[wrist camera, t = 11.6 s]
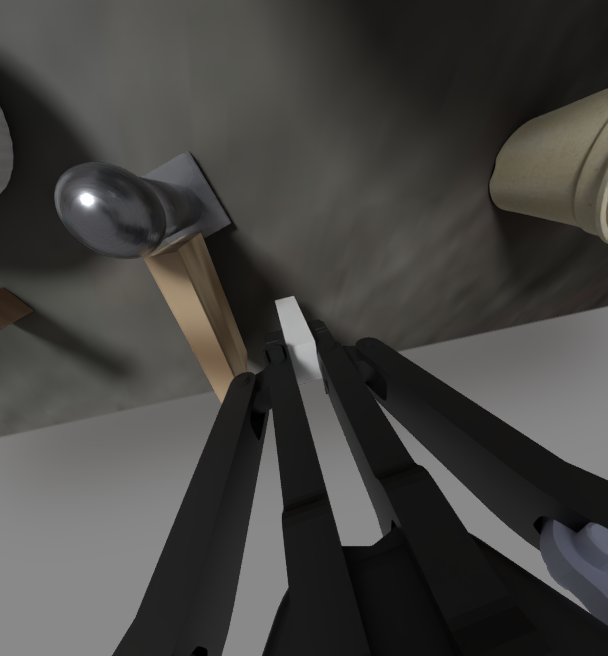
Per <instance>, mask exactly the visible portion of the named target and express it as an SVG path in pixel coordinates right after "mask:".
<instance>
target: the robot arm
mask: <svg viewBox="0 0 608 656" xmlns="http://www.w3.org/2000/svg"><path fill="white" fill-rule="evenodd" d="M275 303H276V307H277V311H278V315H279V319H280V323H281V326H282V330H280V331H276V332H273V333H269V334H268V335H267V337H266V346H267V347H266V348H265V349H264V350H263V355H264V358H265V361H266V363H267V367H266V368H265V369H264V370H263V371H261V372H260V373H258V374H256V375H254V373H251V372H244V373H241V374H239V375H237V376H236V377H235V378H233V380H232V381H231V383H230V385H229V388H228V390H227V393H226V395H225V398H224V400H223V403H222V405H221V408H220V410H219V413H218V415H217V417H216V420H215V422H214V425H213V428H212V430H211V432H210V435H209V437H208V440H207V442H206V445H205V447H204V450H203V452H202V455H201V457H200V459H199V462H198V464H197V467H196V469H195V472H194V474H193V477H192V479H191V482H190V484H189V487H188V489H187V492H186V494H185V497H184V499H183V501H182V504H181V506H180V509H179V511H178V514H177V516H176V519H175V521H174V524H173V526H172V529H171V531H170V533H169V536H168V539H167V541H166V543H165V546H164V548H163V551H162V553H161V556H160V558H159V561H158V563H157V566H156V568H155V571H154V573H153V575H152V578H151V581H150V583H149V585H148V588H147V590H146V593H145V595H144V598H143V600H142V603H141V605H140V608H139V610H138V612H137V615H136V617H135V619H134V621H133V622H132V624H131V626H130V627H129V629H128V630H127V632H126V634H125V636H124V637H123V639H122V640H121V642H120V644H119V645H118V647H117V649H116V650H115V652H114V653H113V655H112V656H221V655H222V652H223V648H224V645H225V641H226V637H227V634H228V630H229V625H230V621H231V616H232V612H233V607H234V601H235V596H236V591H237V585H238V580H239V574H240V569H241V563H242V558H243V553H244V547H245V542H246V536H247V531H248V525H249V519H250V515H251V508H252V503H253V498H254V493H255V487H256V482H257V476H258V471H259V465H260V460H261V454H262V449H263V444H264V438H265V433H266V426H267V422H268V416H269V410H270V409H271V408H272V411H273V420H274V428H275V437H276V445H277V454H278V462H279V471H280V480H281V488H282V497H283V505H284V510H283V513H282V529H283V539H284V547H285V557H286V566H287V576H288V585H289V588H288V589H287V591H286V593H285V595H284V596H283V599H282V601H281V603H280V605H279V607H278V610H277V613H276V616H275V619H274V621H273V625H272V627H271V631H270V633H269V636H268V639H267V642H266V645H265V648H264V651H263V654H262V656H608V480H606V479H604V478H601V477H599V476H596V475H594V474H592V473H590V472H588V471H585V470H583V469H581V468H579V467H576V466H574V465H572V464H569V463H567V462H565V461H564V460H562V459H560V458H559V457H557V456H556V455H554V454H553V453H551V452H550V451H548V450H547V449H545V448H544V447H542V446H541V445H539V444H538V443H536V442H534V441H533V440H531V439H530V438H528V437H527V436H525V435H524V434H522V433H521V432H519V431H518V430H516V429H514V428H513V427H511V426H510V425H508V424H507V423H505V422H504V421H502V420H501V419H499V418H498V417H496V416H495V415H493V414H491V413H490V412H488V411H487V410H485V409H483V408H482V407H481V406H479V405H478V404H476V403H474V402H473V401H471V400H470V399H468V398H467V397H465V396H464V395H462V394H461V393H459V392H458V391H456V390H454V389H453V388H451V387H450V386H448V385H447V384H445V383H444V382H442V381H441V380H439V379H437V378H436V377H434V376H433V375H431V374H430V373H428V372H427V371H425V370H424V369H422V368H421V367H419V366H418V365H416V364H414V363H413V362H411V361H410V360H408V359H407V358H405V357H404V356H402V355H401V354H399V353H398V352H396V351H395V350H393V349H392V348H390V347H388V346H387V345H385V344H384V343H382V342H381V341H379V340H377V339H375V338H370V337H368V338H362V339H360V340H358V341H357V343H356V346H341V344H340V343H339V342H337V341H335V340H334V339H333V337H332V335H331V334H330V332H329V330H328V329H327V327H326V325H325V324H324V322H322V321H320V320H315V321H311V322H307V323H306V321H305V319H304V317H303V315H302V312H301V310H300V308H299V306H298V304H297V302H296V300H295V297H294V296H291V297H287V298H283V299H279V300H275ZM321 374H322V375H321ZM322 377H323V381H324V386H325V391H326V394H328V395H329V397H330V400H331V403H332V405H333V408H334V410H335V413H336V415H337V418H338V420H339V422H340V425H341V427H342V430H343V432H344V435H345V437H346V440H347V442H348V445H349V447H350V450H351V452H352V455H353V457H354V460H355V462H356V465H357V467H358V470H359V472H360V474H361V477H362V480H363V482H364V485H365V487H366V489H367V492H368V494H369V497H370V499H371V502H372V504H373V507H374V509H375V512H376V514H377V518H378V521H379V525H380V528H381V531H382V534H383V538H381V539H380V540H379V541H378V542H377V543H375V544H374V545H372V546H342V545H341V542H340V538H339V534H338V531H337V527H336V523H335V520H334V516H333V512H332V508H331V505H330V501H329V497H328V494H327V490H326V487H325V483H324V480H323V475H322V471H321V468H320V464H319V461H318V457H317V453H316V449H315V446H314V442H313V438H312V435H311V431H310V428H309V424H308V420H307V416H306V413H305V409H304V405H303V401H302V398H301V394H300V390H299V387H298V385H301V384H305V383H308V382H311V381H315V380H318V379H321V378H322ZM375 399H376V400H377V401H378V402H379V403H380V404H381V405H382V406H383V407H384V408H385V409H386V410H387V411H388V412H389V413H390V414H391V415H392V416H393V417H394V418H395V419H396V420H397V421H399V422H400V423H401V424H402V425H403V426H404V427H405V428H406V429H407V430H408V431H409V432H410V433H411V434H412V435H413V436H414V437H415V438H416V439H417V440H418V441H419V442H420V443H421V444H422V445H423V446H424V447H425V448H426V449H427V450H429V451H430V452H431V453H432V454H433V455H434V456H435V457H436V458H437V459H438V460H439V461H440V462H441V463H442V464H443V465H444V466H445V467H446V468H447V469H448V470H449V471H450V472H451V473H452V474H453V475H454V476H455V477H456V478H457V479H458V480H459V481H460V482H462V483H463V484H464V485H465V486H466V487H467V488H468V489H469V490H470V491H471V492H472V493H473V494H474V495H475V496H476V497H477V498H478V499H479V500H480V501H481V502H482V503H483V504H484V505H485V506H486V507H488V509H489V510H491V511H492V512H493V513H494V514H495V515H496V516H497V517H498V518H499V519H500V520H501V521H503V522H504V523H505V524H506V525H507V526H508V527H509V528H511V529H512V530H513V531H515V532H516V533H517V534H518V535H519V536H521V537H522V538H523V539H524V540H526V541H527V542H528V543H530V544H531V545H532V546H534V547H535V548H537V549H538V550H540V552H541V555H542V557H543V560H544V562H545V563H546V565H547V569H548V571H549V573H550V575H551V577H552V578H553V579H554V580H555V581H556V582H557V583H558V584H559V585H561V586H562V587H563V588H565V589H567V590H569V591H570V592H571V593H573V594H574V595H575V596H576V597H577V598H578V599H579V600H580V601H581V602H582V603H583V605H584V606H585V607H586V608H587V609H588V610H589V612H590V613H591V614H592V615H591V614H590V613H588V612H587V611H585V610H584V609H583V608H581V607H580V606H578V605H577V604H575V603H574V602H572V601H571V600H569V599H568V598H566V597H565V596H563V595H562V594H560V593H559V592H557V591H556V590H554V589H553V588H551V587H550V586H548V585H547V584H545V583H544V582H543V581H541V580H540V579H538V578H537V577H535V576H533V575H532V574H531V573H529V572H527V571H526V570H525V569H523V568H522V567H520V566H519V565H517V564H516V563H514V562H513V561H511V560H510V559H508V558H507V557H505V556H504V555H502V554H501V553H499V552H498V551H497V550H495V549H494V548H492V547H491V546H489V545H488V544H486V543H485V542H483V541H482V540H480V539H479V538H477V537H476V536H474V535H472V534H470V533H468V531H467V530H466V528H465V527H464V525H463V524H462V522H461V521H460V519H459V518H458V516H457V514H456V513H455V511H454V510H453V508H452V507H451V505H450V504H449V502H448V501H447V499H446V498H445V496H444V495H443V493H442V492H441V490H440V489H439V487H438V485H437V484H436V482H435V481H434V479H433V478H432V477H431V475H430V474H429V472H428V471H427V470H426V469H425V468H424V467H423V466H421V465H417V464H416V463H415V462H414V460H413V459H412V458H411V456H410V455H409V453H408V451H407V450H406V448H405V447H404V445H403V443H402V442H401V440H400V438H399V437H398V435H397V434H396V432H395V431H394V429H393V427H392V426H391V424H390V422H389V421H388V419H387V418H386V416H385V414H384V413H383V411H382V410H381V408H380V406H379V405H378V403H377V402H376V400H375Z"/></svg>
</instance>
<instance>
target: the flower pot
mask: <svg viewBox="0 0 608 656" xmlns="http://www.w3.org/2000/svg"><path fill="white" fill-rule="evenodd" d="M489 188H490V195H491V198H492V200H493V202H494V204H495V205H496V206H497V207H499V208H500V209H503V210H506V211H512V212H517V213H521V214H526V215H530V216H535V217H539V218H543V219H547V220H552V221H556V222H560V223H565V224H569V225H573V226H577V227H580V228H581V229H583V230H584V231H586V232H587V233H590V234H593V235H597V236H599V237H600V238H601V239H602V240H603V241H604V242H605V243H607V244H608V88H607V89H605V90H602V91H600V92H597V93H595V94H592V95H590V96H588V97H585V98H583V99H580V100H578V101H576V102H573V103H571V104H568V105H566V106H564V107H561V108H559V109H556V110H554V111H551V112H549V113H546V114H544V115H541V116H538V117H536V118H533V119H531V120H530V121H528V122H526V123H525V124H523V125H522V126H521V127H519V128H518V129H517V130H516V131H515V132H514V133H513V134H512V135H511V136H510V138H509V139H508V140H507V141H506V143H505V144H504V145H503V147H502V149H501V150H500V152H499V154H498V156H497V158H496V166H495V170H494V173H493V175H492V178H491V180H490V183H489Z"/></svg>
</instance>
